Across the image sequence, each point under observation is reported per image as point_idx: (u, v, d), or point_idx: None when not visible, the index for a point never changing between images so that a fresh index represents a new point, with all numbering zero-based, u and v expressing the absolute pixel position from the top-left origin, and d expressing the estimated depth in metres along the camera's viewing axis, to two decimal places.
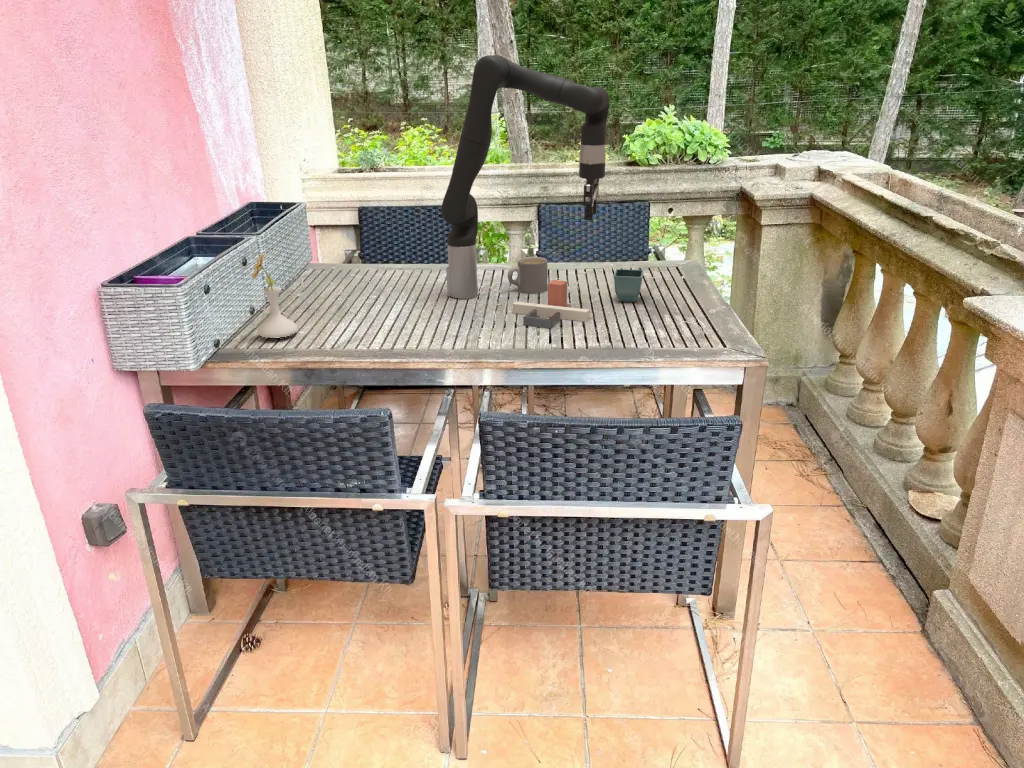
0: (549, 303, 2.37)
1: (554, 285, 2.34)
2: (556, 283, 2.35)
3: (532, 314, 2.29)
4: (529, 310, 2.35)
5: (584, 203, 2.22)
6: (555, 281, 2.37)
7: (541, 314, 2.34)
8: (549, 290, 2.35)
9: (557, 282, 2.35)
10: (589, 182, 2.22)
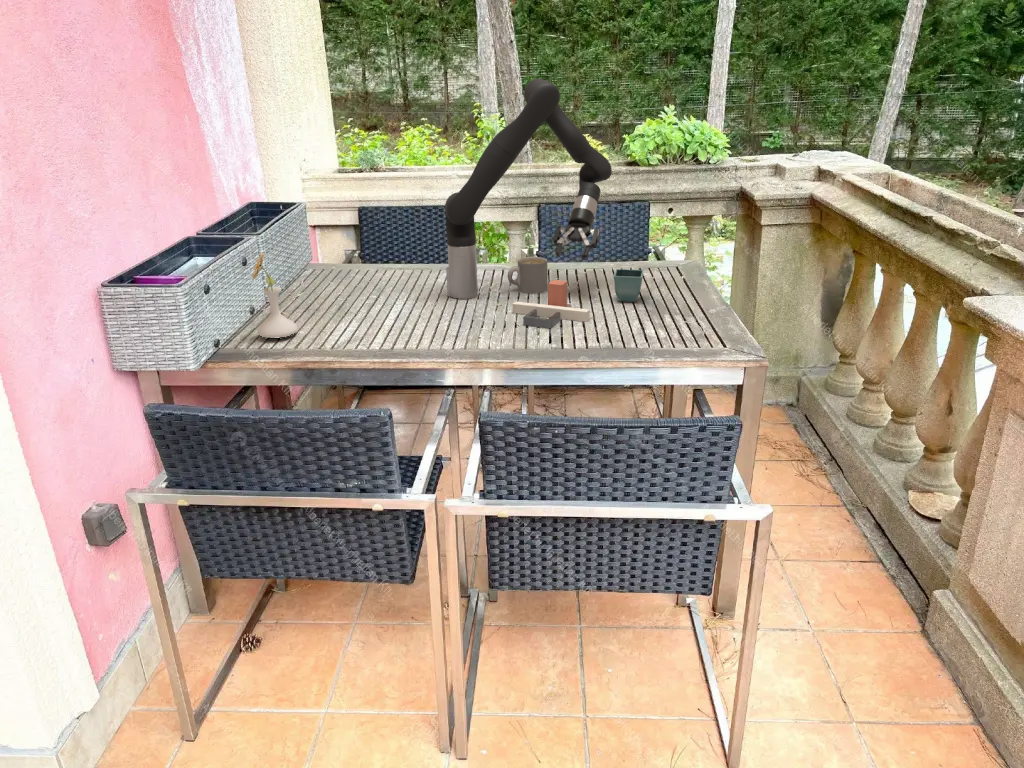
0: (549, 303, 2.37)
1: (554, 285, 2.34)
2: (556, 283, 2.35)
3: (532, 314, 2.29)
4: (529, 310, 2.35)
5: (595, 242, 2.41)
6: (555, 281, 2.37)
7: (541, 314, 2.34)
8: (549, 290, 2.35)
9: (557, 282, 2.35)
10: (589, 228, 2.45)
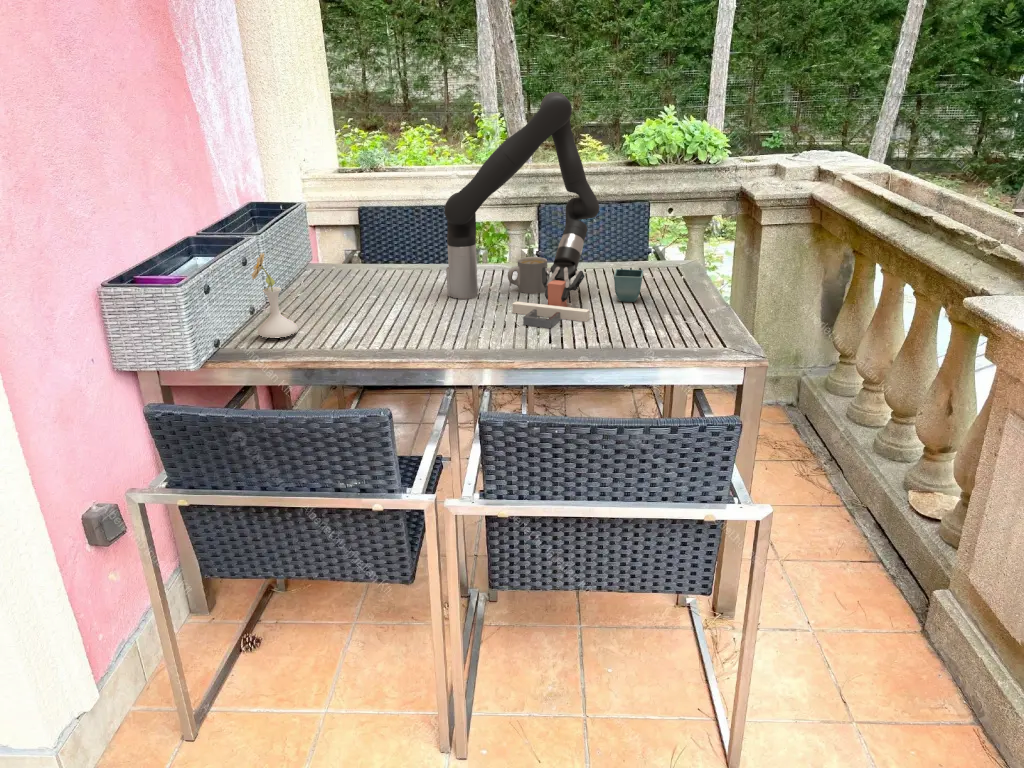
0: (549, 303, 2.37)
1: (554, 285, 2.34)
2: (556, 283, 2.35)
3: (532, 314, 2.29)
4: (529, 310, 2.35)
5: (574, 285, 2.35)
6: (555, 280, 2.37)
7: (541, 314, 2.34)
8: (549, 290, 2.35)
9: (557, 282, 2.35)
10: (575, 268, 2.38)
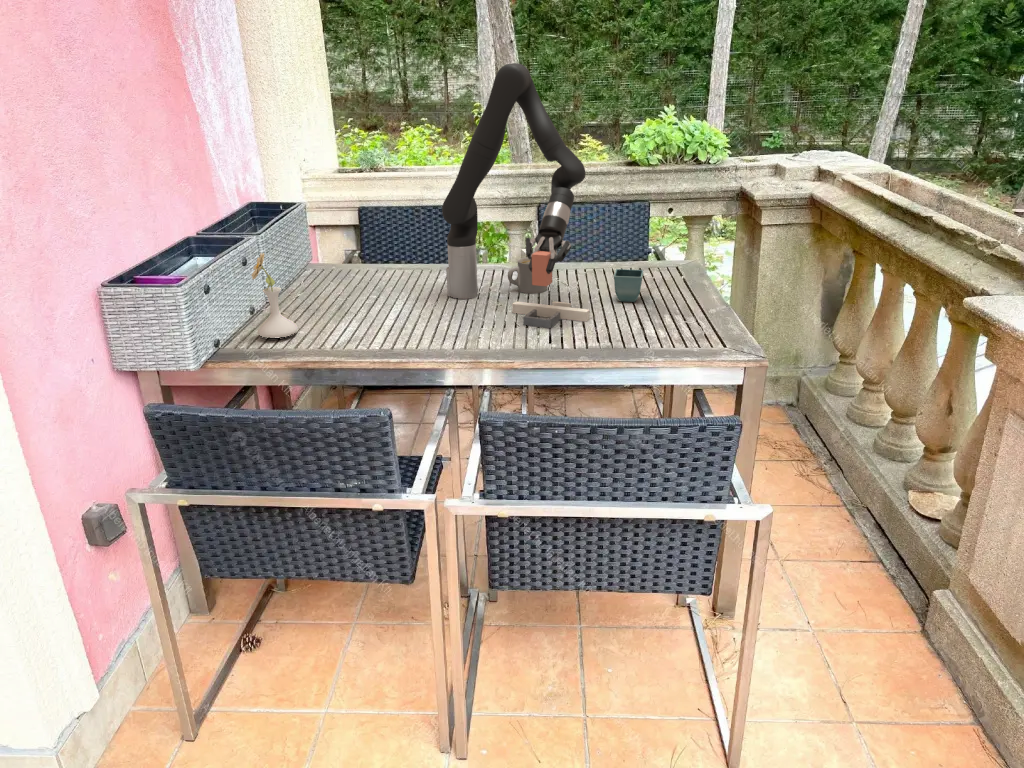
0: (533, 275, 2.22)
1: (538, 256, 2.19)
2: (541, 254, 2.20)
3: (532, 314, 2.29)
4: (529, 310, 2.35)
5: (560, 256, 2.20)
6: (539, 251, 2.22)
7: (541, 314, 2.34)
8: (533, 261, 2.20)
9: (542, 253, 2.20)
10: (561, 238, 2.23)
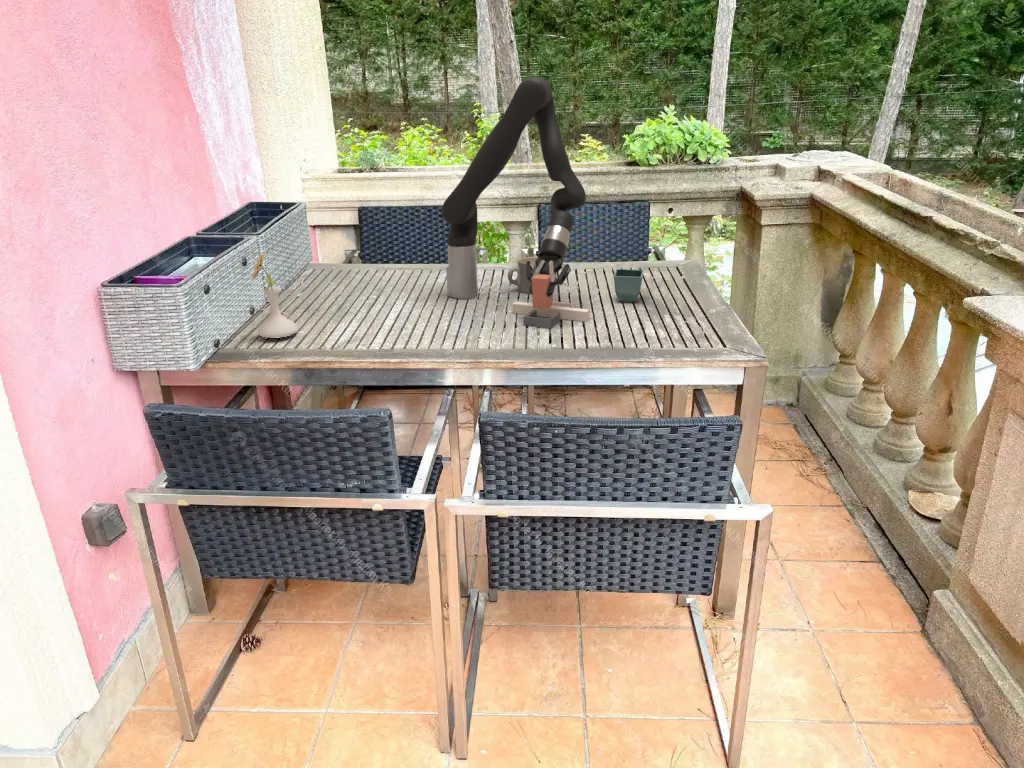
0: (533, 298, 2.24)
1: (538, 279, 2.21)
2: (541, 277, 2.22)
3: (532, 314, 2.29)
4: (529, 310, 2.35)
5: (560, 279, 2.22)
6: (539, 275, 2.25)
7: (541, 314, 2.34)
8: (533, 285, 2.23)
9: (542, 276, 2.23)
10: (561, 261, 2.26)
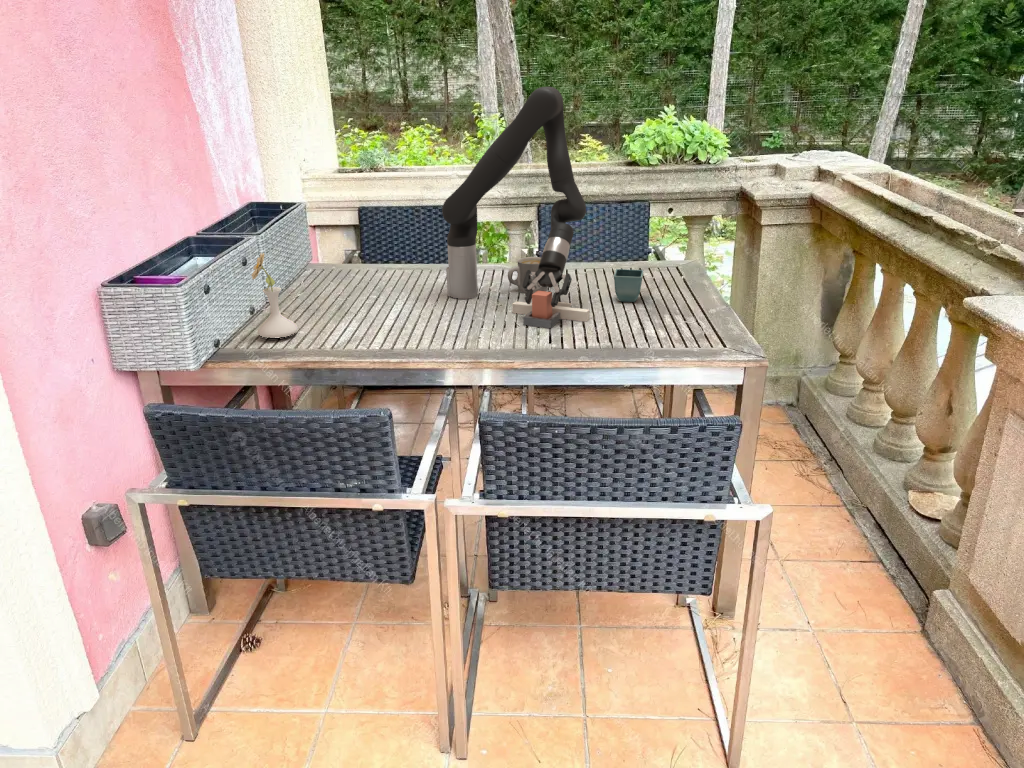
0: (533, 315, 2.26)
1: (538, 296, 2.24)
2: (541, 294, 2.24)
3: None
4: (529, 310, 2.35)
5: (565, 289, 2.23)
6: (539, 291, 2.27)
7: None
8: (533, 301, 2.25)
9: (542, 293, 2.25)
10: (561, 273, 2.27)
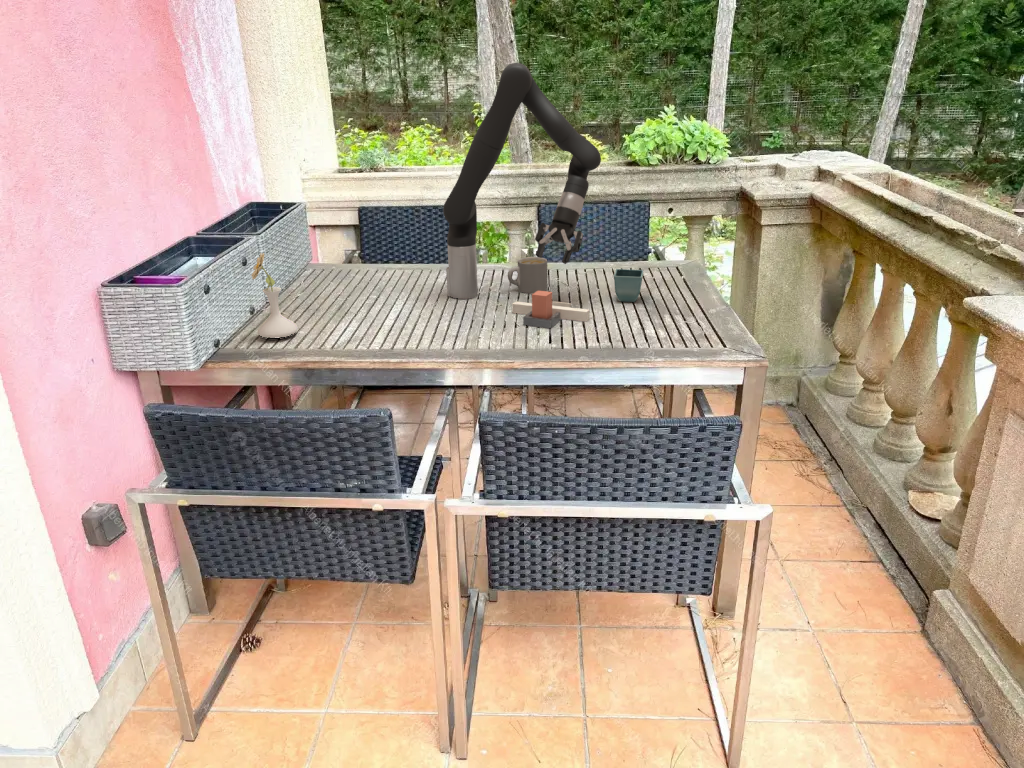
0: (533, 315, 2.26)
1: (538, 296, 2.24)
2: (541, 294, 2.24)
3: None
4: (529, 310, 2.35)
5: (577, 248, 2.33)
6: (539, 291, 2.27)
7: None
8: (533, 301, 2.25)
9: (542, 293, 2.25)
10: (573, 229, 2.35)
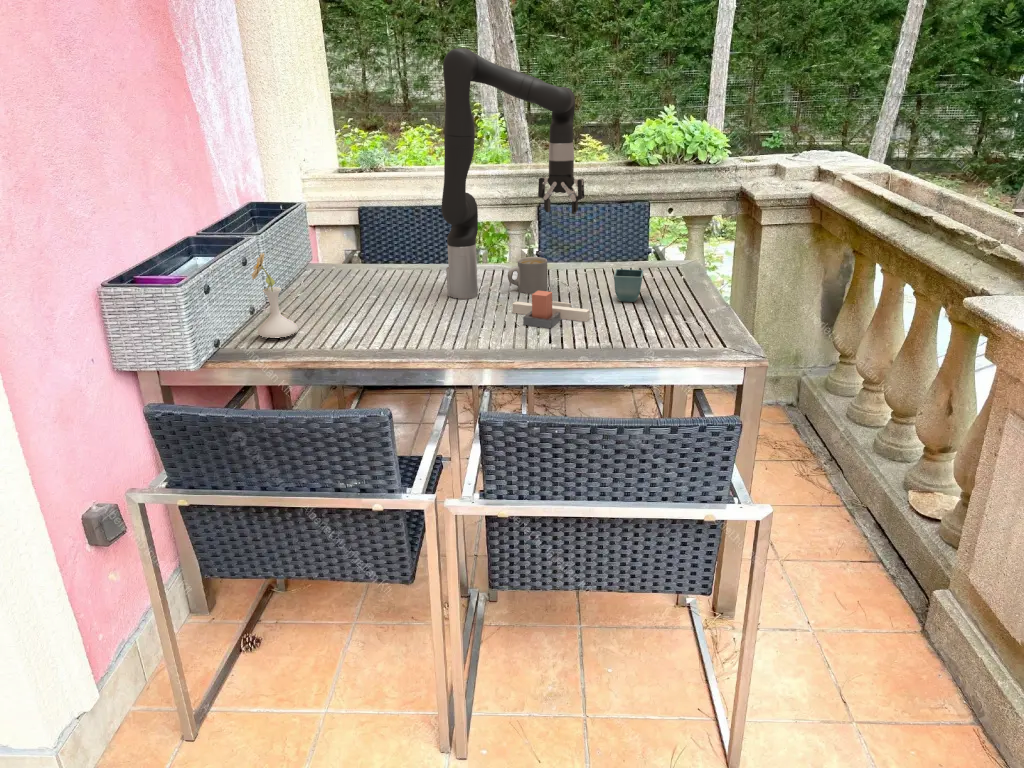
0: (533, 315, 2.26)
1: (538, 296, 2.24)
2: (541, 294, 2.24)
3: None
4: (529, 310, 2.35)
5: (581, 197, 2.33)
6: (539, 291, 2.27)
7: None
8: (533, 301, 2.25)
9: (542, 293, 2.25)
10: (572, 177, 2.33)
